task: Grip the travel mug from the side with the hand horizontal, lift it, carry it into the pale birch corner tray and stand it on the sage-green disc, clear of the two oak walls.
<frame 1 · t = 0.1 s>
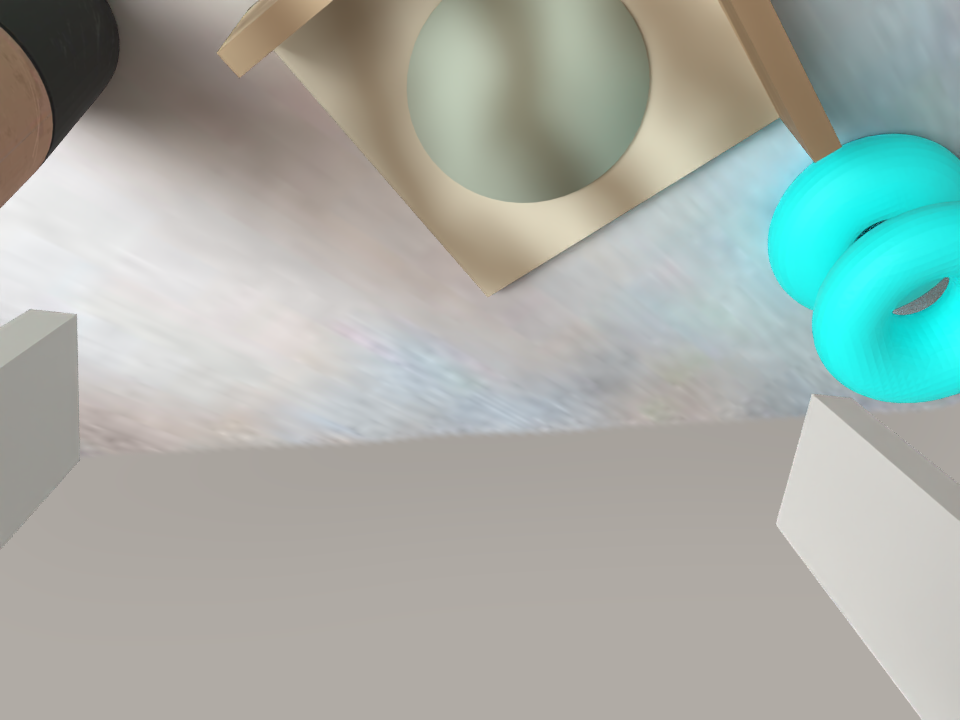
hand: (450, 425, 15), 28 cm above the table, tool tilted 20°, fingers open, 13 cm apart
travel mug: (39, 24, 38), on the table
corner tray: (532, 53, 39), on the table
donuts: (857, 214, 44), on the table
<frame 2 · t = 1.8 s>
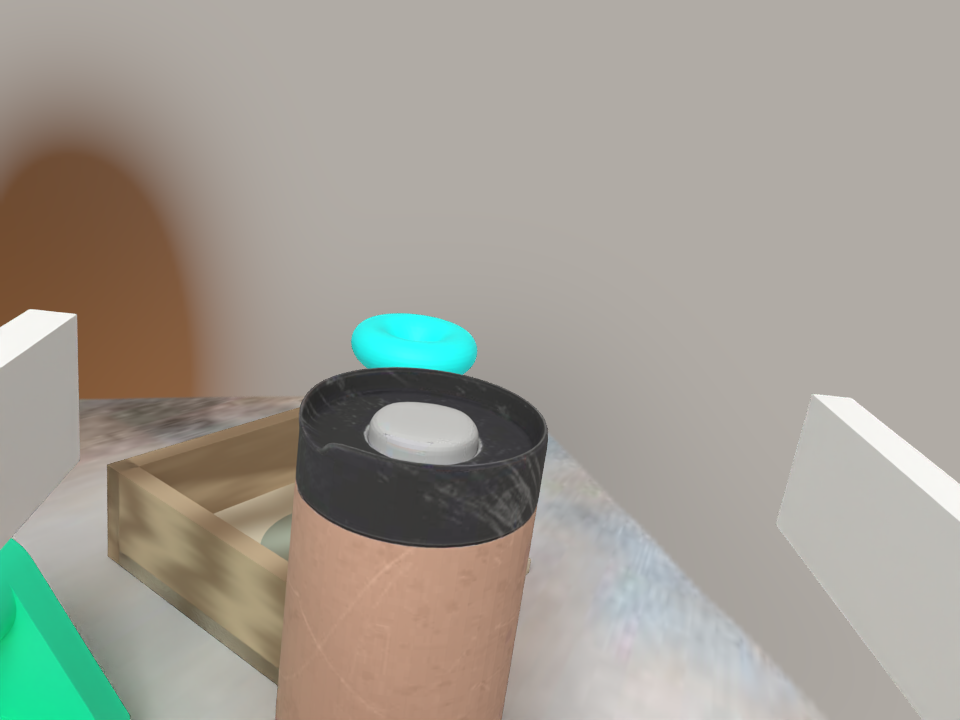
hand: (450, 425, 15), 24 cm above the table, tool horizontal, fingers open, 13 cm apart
corner tray: (327, 564, 52), on the table
donuts: (403, 444, 70), on the table
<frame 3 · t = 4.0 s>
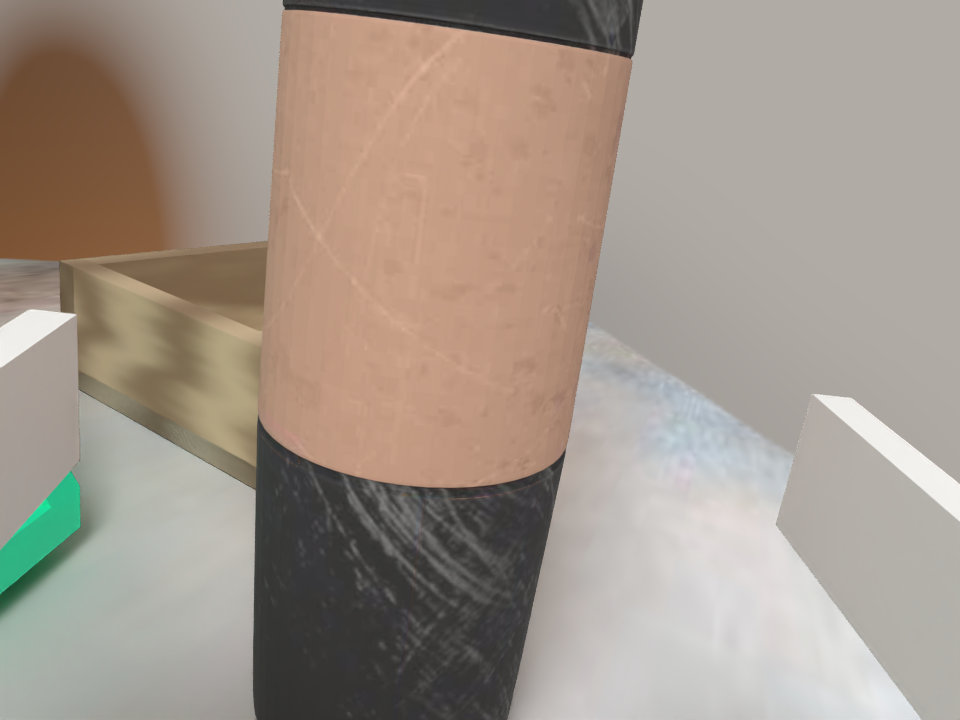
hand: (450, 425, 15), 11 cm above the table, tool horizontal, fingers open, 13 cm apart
travel mug: (382, 702, 24), on the table
corner tray: (325, 397, 44), on the table
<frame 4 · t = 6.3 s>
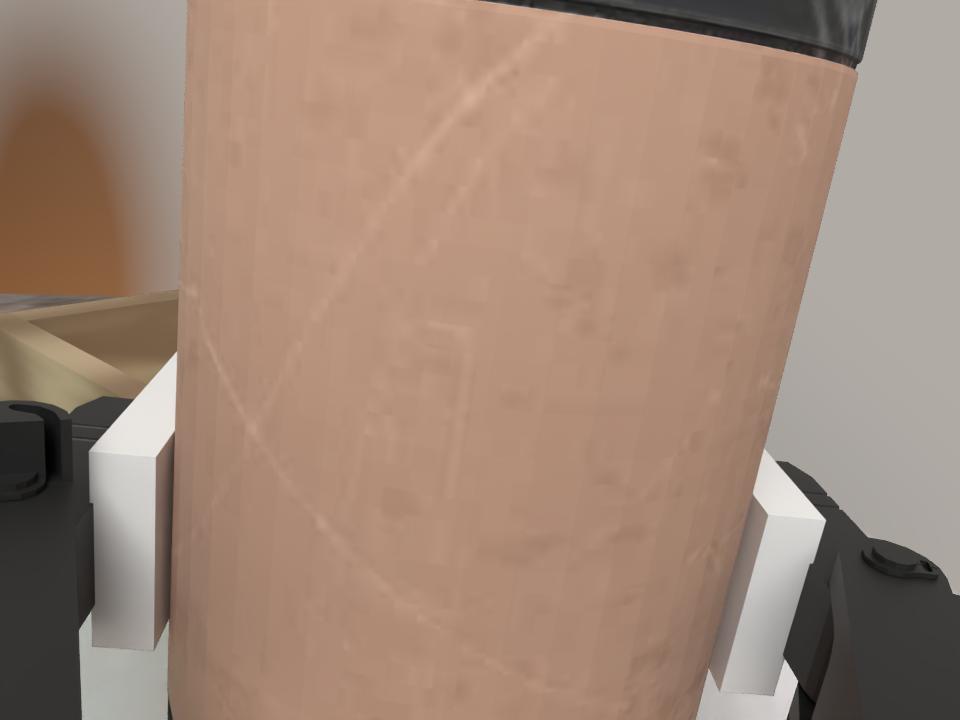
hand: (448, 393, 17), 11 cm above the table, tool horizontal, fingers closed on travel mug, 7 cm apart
corner tray: (313, 479, 36), on the table
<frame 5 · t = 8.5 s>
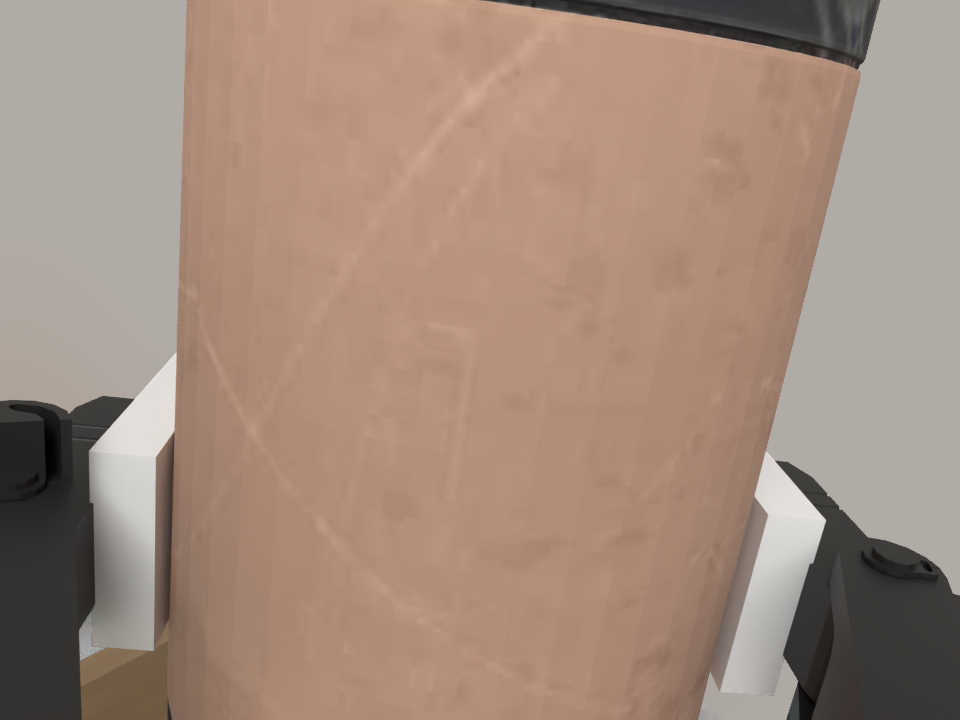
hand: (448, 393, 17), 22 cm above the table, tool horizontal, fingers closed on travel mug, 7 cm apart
when the fingers open (13 cm above the table, at t = 11.1 s): travel mug drops 1 cm, resting on corner tray.
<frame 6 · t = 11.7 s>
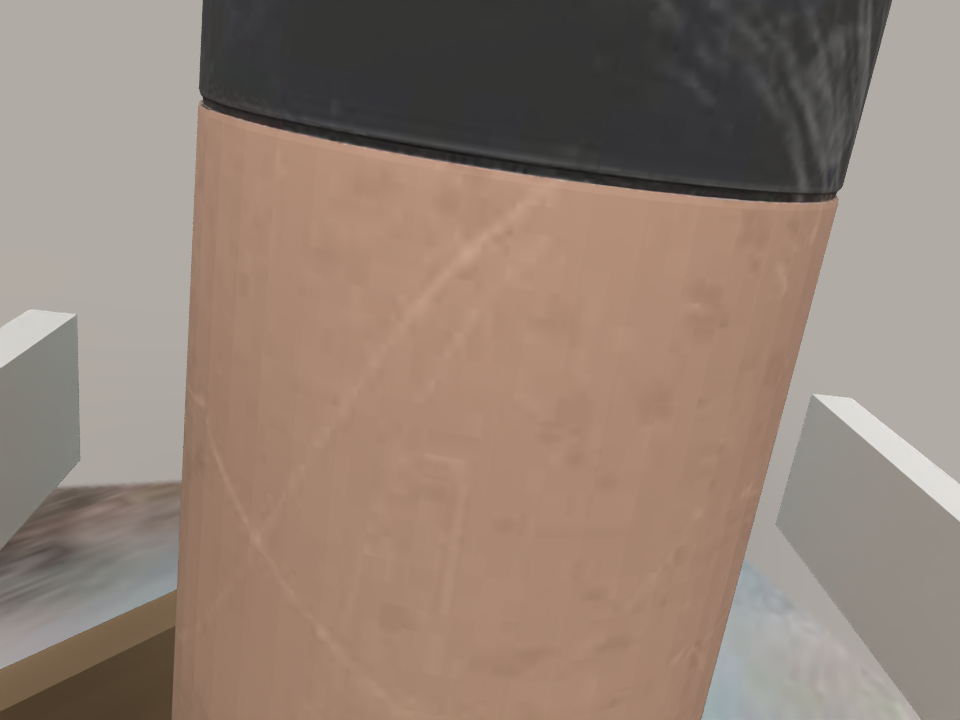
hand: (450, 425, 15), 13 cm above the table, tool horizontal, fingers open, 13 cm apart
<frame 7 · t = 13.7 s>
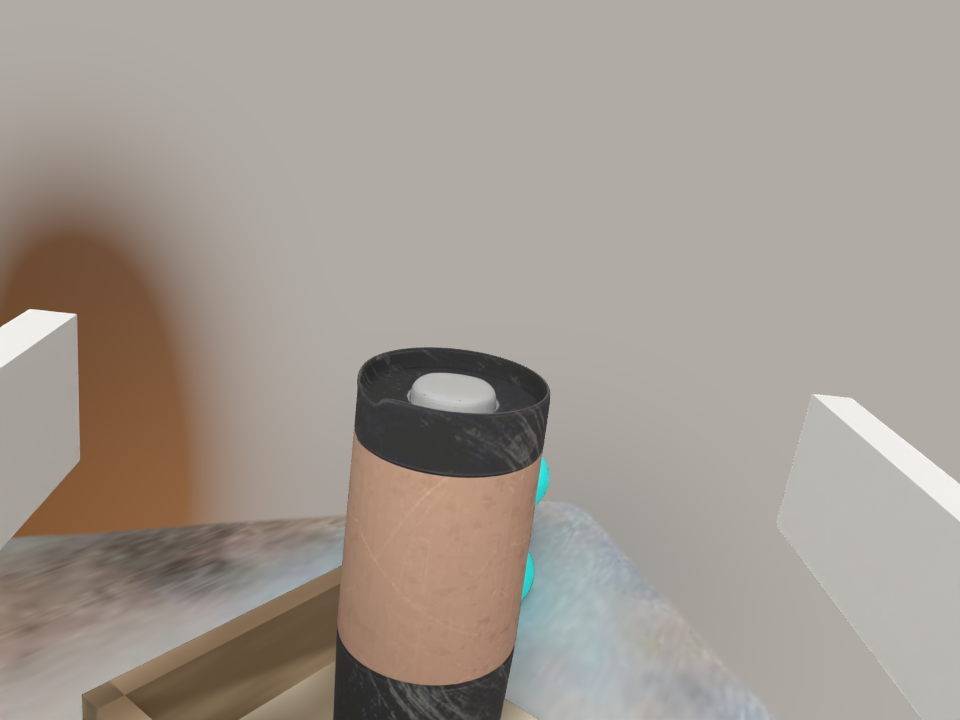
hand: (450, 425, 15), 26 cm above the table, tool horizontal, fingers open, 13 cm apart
donuts: (457, 585, 57), on the table
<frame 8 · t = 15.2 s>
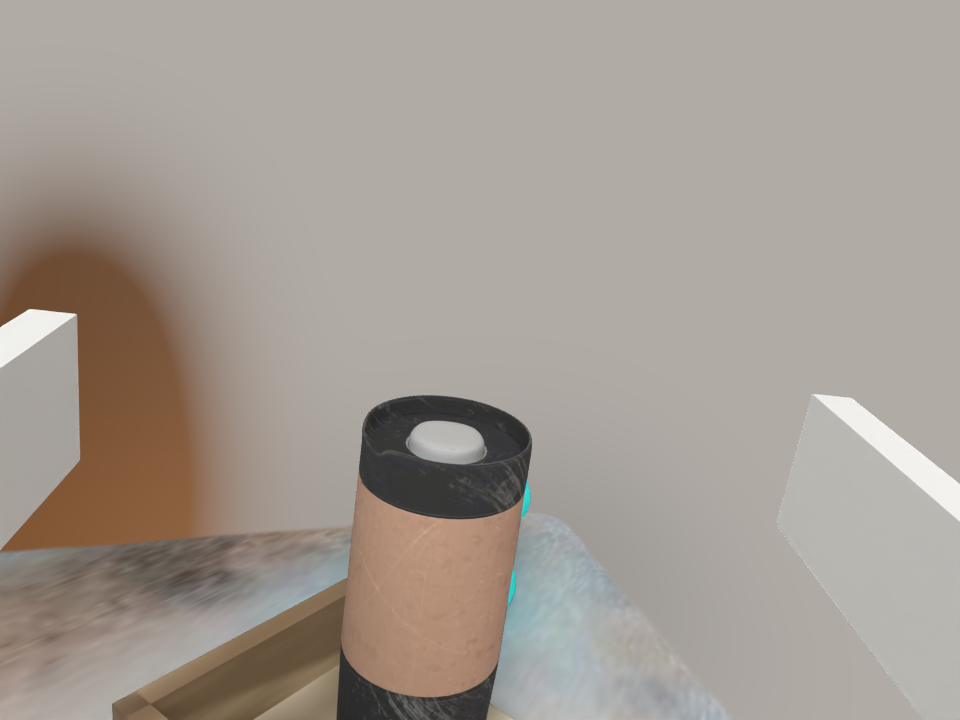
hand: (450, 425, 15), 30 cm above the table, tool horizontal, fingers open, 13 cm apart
donuts: (444, 594, 62), on the table
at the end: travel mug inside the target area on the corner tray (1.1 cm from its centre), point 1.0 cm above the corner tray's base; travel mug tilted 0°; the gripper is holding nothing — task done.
